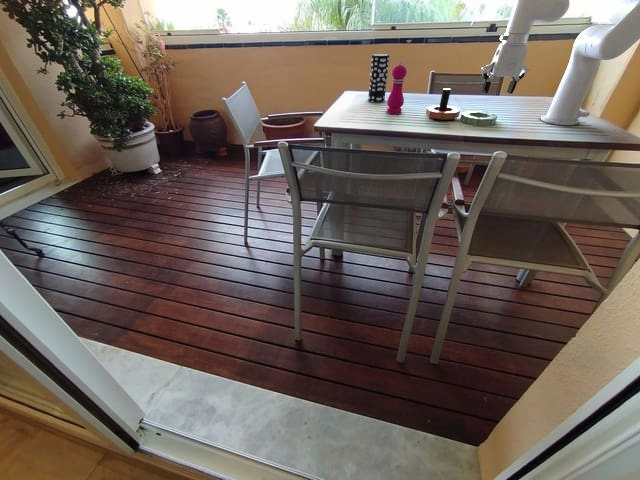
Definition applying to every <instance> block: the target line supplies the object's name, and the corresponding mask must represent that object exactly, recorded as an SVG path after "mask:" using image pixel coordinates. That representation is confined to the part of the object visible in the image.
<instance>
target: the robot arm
mask: <svg viewBox="0 0 640 480" xmlns="http://www.w3.org/2000/svg"><path fill="white" fill-rule="evenodd" d="M570 4H571V3H570V0H515V2H514V5H513V8H512V11H511V15H510V17H509V20H508V23H507V27H506V30H505V33H504V34H503V35H501V36H500V37H499V40H500V41H501V43H500V44H499V45H498V48H497V50H496V51H495V53H494V56H493V58H492V61H491V63H489V64H487V65H485V66H482V67H481V70H480V71H481V76H482V79H483V85H482V89H481V90H482V93H484V94H488V93H489V90H490V88H491V84H492V82H491V81H492V80H493V79H494V78H495V77H497V78H498V77H499V78H505V77H506V78H511V80H510V82H509V84H508V87H507V89H506V93H508V94H509V95H513V93H514V91H515V89H516V87H517V85H518V83H519V82H520V81H521V80H522V79H523V78H524V77H525V75H526V74H527V73H528V72H529V71H530V68H529V67H528V66H526V64H525V61H526V58H527V55H528V47H529V44H527V42H528V40H529V36H530V35H531V31H532V28H533V26H534V23H546V24H547V23H554V22H557V21H558V20H560V19H562V18H563V17H564V16H565V15H566V14H567V12H568V10H569V8H570ZM607 18H608V22H609V23H610V24H606V23H605V24H595V25H591V26H589V27H587V28H585V29H584V30H583V31H581V32H580V33H579V35H578V36H577V37H576V39H575V41H574V43H573V46H572V50H571V55H570V57H569V58H570V59H569V60H568V61H569V62H568V64H567V66H566V69H565V71H564V73H563V76H562V78H561V81H560V83H559V85H558V88H557V90H556V92H555V94H554V97H553V99H552V102H551V103H550V107H549V109H548V111H547V113H546V114H542V115H541V117H540V120H541V121H543V122H545V123H548V124H551V125H557V126H558V125H559V126H575V125H578V124H579V122H580V120H579V118H581V117H582V118H588V117H589V116H590V114H591V113H590V111H582V110H581V107H582V106H583V103H584V101H585V100H586V97H587V95H588V93H589V91H590V89H591V88H592V85H593V84H594V81H595V79H596V76H597V75H598V72H599V69H600V66H601V61H611V60H613V59H617V58H618V57H620V56H622V55H623V54H624V53H626V52H627V51H628V50H629V49H630V48H632V47H633V46H634V45H635V44H636V43H637V42H638V41H639V40H640V0H617V1H616V2H615V3H614V5H613V6H612V7H611V8H610V10H609V12H608V16H607ZM488 70H489V71H488ZM487 71H488V72H487Z"/></svg>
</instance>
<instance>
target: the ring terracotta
mask: <svg viewBox="0 0 640 480" xmlns="http://www.w3.org/2000/svg"><path fill="white" fill-rule="evenodd" d="M439 106H440V105H431V106H427V107H426V112H425V114H426V115H427V117H429V118H431V117H432V118H437V119H454V120H455V119H457V118H460V115H461V114H460V113H461V110H460V108H457V107H455V106H450V105H447V109H446V111H445V112H443V111H438V110H439ZM432 118H431V119H432Z"/></svg>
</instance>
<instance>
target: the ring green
mask: <svg viewBox="0 0 640 480" xmlns="http://www.w3.org/2000/svg"><path fill="white" fill-rule="evenodd" d="M459 119H460V121H461V122H463V123H465V124H468V125H473V126H478V127H479V126H493V125H494V124H496V122H497V119H498V116H497V115H496V114H494V113H491V112H488V111H481V110H466V111H464V112H462V113H461V114H460V117H459Z"/></svg>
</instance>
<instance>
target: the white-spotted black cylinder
mask: <svg viewBox="0 0 640 480" xmlns="http://www.w3.org/2000/svg"><path fill="white" fill-rule="evenodd" d="M389 63H390V54H388V53H387V54H386V53H373V54H371V59H370V74H369V85H368V97H367V98H368V99H367V100H368V102H369V103H383V102H385V101H386V92H387V91H386V90H387V84H388V83H387V82H388V74H389Z"/></svg>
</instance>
